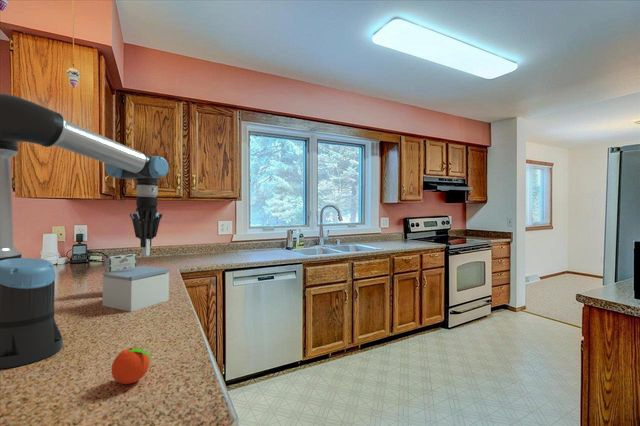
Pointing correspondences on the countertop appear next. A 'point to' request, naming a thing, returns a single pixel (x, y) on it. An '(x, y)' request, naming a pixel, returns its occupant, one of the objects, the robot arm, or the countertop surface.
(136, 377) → the clementine
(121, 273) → the lid
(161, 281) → the storage box
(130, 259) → the candy bar box
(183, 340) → the countertop surface
